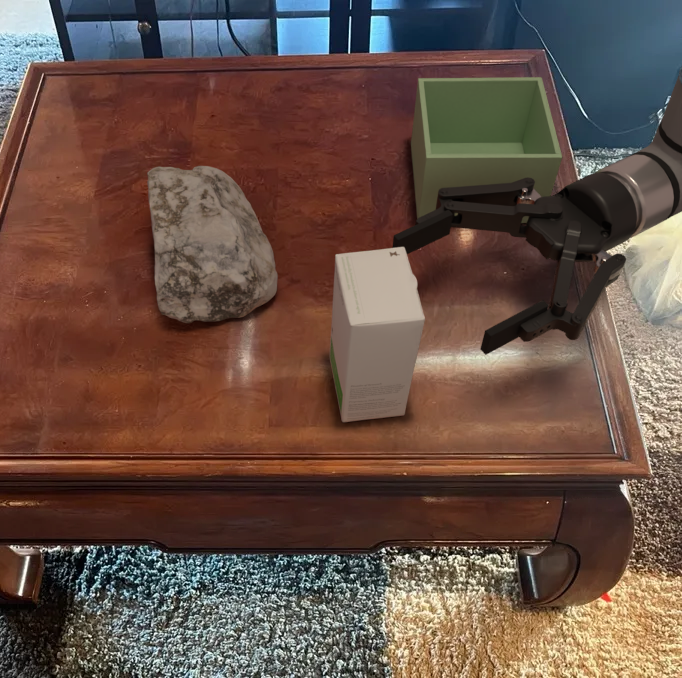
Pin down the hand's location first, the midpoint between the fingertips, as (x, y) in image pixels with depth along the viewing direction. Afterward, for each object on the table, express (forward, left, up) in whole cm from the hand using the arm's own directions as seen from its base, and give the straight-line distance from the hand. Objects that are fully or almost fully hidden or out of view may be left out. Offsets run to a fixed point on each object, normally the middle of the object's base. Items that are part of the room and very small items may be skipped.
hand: (437, 293), depth 74 cm
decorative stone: (+24, +10, -10) cm, 28 cm away
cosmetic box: (0, +7, -10) cm, 12 cm away
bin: (+16, -22, -10) cm, 29 cm away
